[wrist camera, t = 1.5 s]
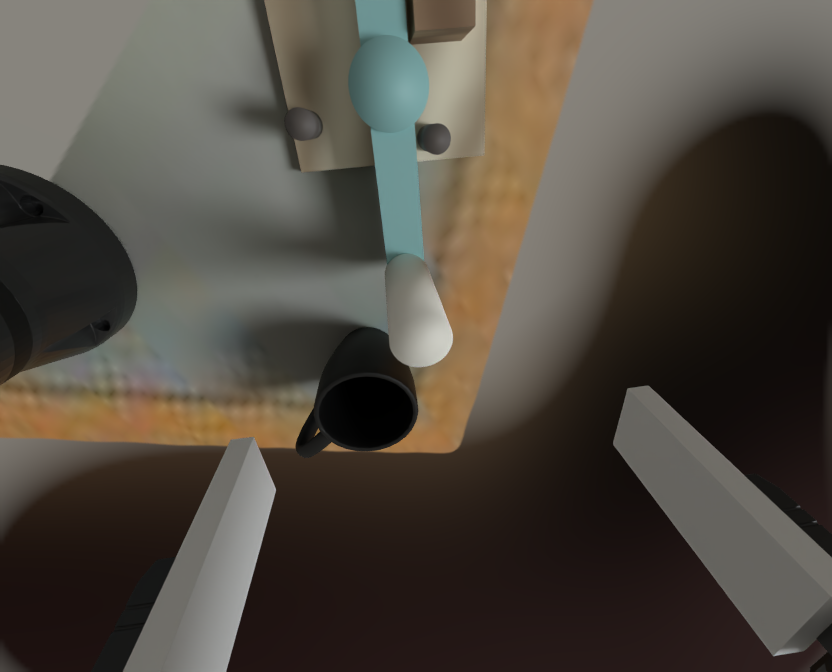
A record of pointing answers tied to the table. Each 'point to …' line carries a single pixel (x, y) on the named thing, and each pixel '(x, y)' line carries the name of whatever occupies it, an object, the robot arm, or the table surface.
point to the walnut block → (440, 20)
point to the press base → (329, 93)
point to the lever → (398, 176)
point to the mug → (361, 398)
